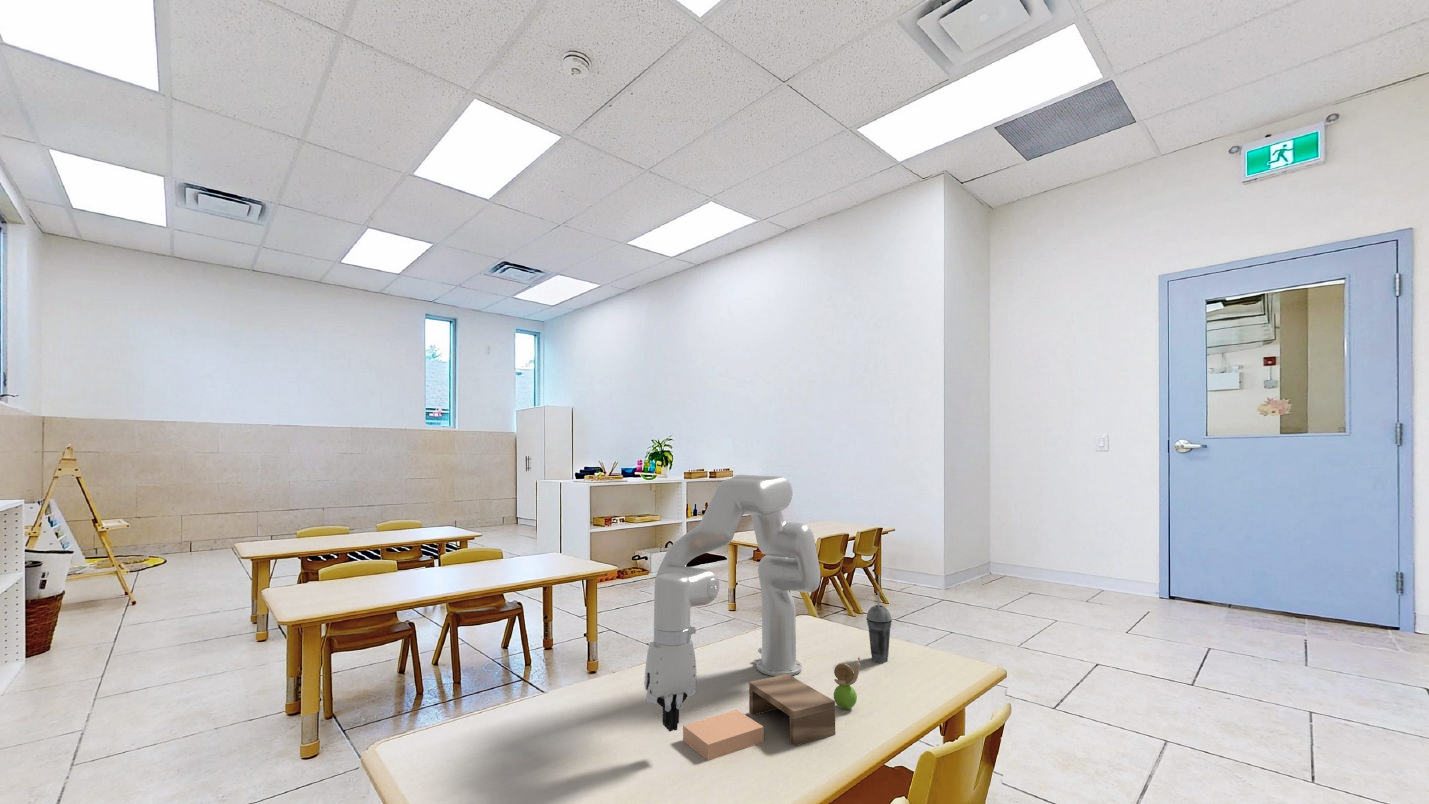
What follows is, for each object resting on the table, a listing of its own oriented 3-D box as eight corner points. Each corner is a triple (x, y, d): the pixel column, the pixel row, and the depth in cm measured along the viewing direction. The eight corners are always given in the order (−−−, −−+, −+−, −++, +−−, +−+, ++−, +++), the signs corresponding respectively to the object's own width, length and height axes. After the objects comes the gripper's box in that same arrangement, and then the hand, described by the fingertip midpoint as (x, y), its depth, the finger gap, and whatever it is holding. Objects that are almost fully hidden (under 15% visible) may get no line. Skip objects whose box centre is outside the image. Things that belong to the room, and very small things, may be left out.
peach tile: (682, 742, 131) (683, 725, 131) (736, 725, 138) (736, 709, 139) (708, 762, 122) (708, 744, 123) (763, 743, 130) (763, 726, 130)
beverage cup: (893, 657, 181) (892, 588, 183) (892, 665, 174) (890, 594, 176) (868, 654, 184) (867, 586, 185) (865, 662, 177) (864, 592, 178)
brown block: (749, 712, 144) (749, 682, 145) (787, 703, 149) (787, 673, 150) (794, 746, 128) (793, 711, 129) (835, 734, 133) (835, 701, 134)
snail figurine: (861, 714, 143) (860, 661, 144) (833, 711, 144) (833, 659, 145) (860, 704, 149) (860, 653, 149) (833, 702, 150) (833, 652, 151)
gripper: (696, 626, 133) (695, 714, 132) (631, 635, 126) (629, 728, 125) (712, 635, 127) (711, 728, 125) (644, 646, 120) (643, 744, 118)
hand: (670, 728), depth 125 cm, fingers closed
